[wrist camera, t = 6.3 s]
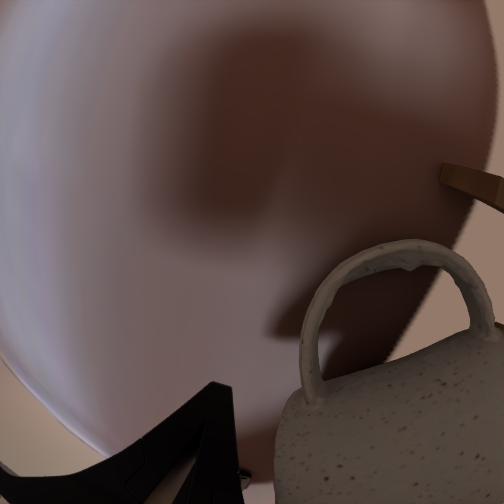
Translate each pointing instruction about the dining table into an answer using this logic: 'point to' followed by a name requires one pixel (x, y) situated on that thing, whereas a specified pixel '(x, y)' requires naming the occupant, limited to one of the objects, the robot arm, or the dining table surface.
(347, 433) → the ceramic mug
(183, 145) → the dining table surface
